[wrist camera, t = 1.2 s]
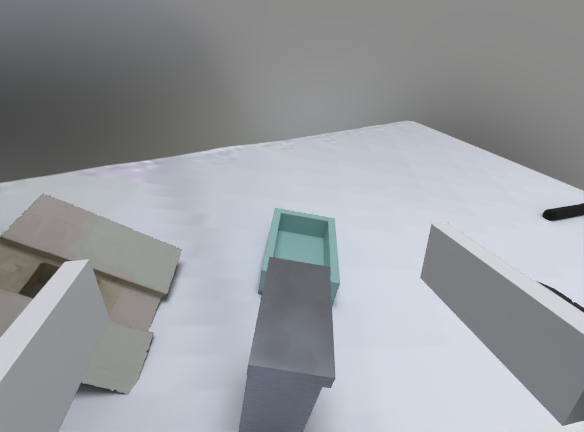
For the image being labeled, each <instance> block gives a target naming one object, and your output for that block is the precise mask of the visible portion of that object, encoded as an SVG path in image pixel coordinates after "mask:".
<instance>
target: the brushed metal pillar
mask: <svg viewBox="0 0 584 432" xmlns="http://www.w3.org/2000/svg"><path fill="white" fill-rule="evenodd" d="M334 380H335V362H334V341H333V321H332V300H331V279H330V267H328V266H322V265H316V264H310V263H304V262H298V261H292V260H287V259H281V258H275V257H269V261H268V266H267V271H266V276H265V281H264V287H263V292H262V297H261V302H260V307H259V312H258V317H257V323H256V328H255V333H254V338H253V343H252V348H251V353H250V359H249V364H248V370H247V382H246V388H245V395H244V401H243V408H242V414H241V421H240V427H239V432H303V430H304V428H305V425H306V423H307V421H308V418H309V416H310V414H311V412H312V409H313V407H314V405H315V402H316V400H317V398H318V396H319V393H320V391H321V389H322V387H327V388H331V386H332V384H333V382H334Z"/></svg>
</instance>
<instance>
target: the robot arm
mask: <svg viewBox="0 0 584 432" xmlns="http://www.w3.org/2000/svg"><path fill="white" fill-rule="evenodd" d="M420 278H421V279H422V280H423V281H424V282H425V283H426V284H427V285H428V286H429V287H430V288H431V289H432V290H433V291H434V292H435V293H436V295H437V296H438V297H439V298H440V299H441V300H442V301H443V302H444V303H445V304H446V305H447V306H448V307H449V308H450V309H451V310H452V311H453V312H454V313H455V314H456V315H457V316H458V317H459V318H460V320H461V321H462V322H463V323H464V324H465V325H466V326H467V327H468V328H469V329H470V330H471V331H472V332H473V333H474V334H475V335H476V336H477V337H478V338H479V339H480V340H481V341H482V342H483V344H484V345H485V346H486V347H487V348H488V349H489V350H490V351H491V352H492V353H493V354H494V355H495V356H496V357H497V358H498V359H499V360H500V361H501V362H502V363H503V364H504V365H505V366H506V367H507V369H508V370H509V371H510V372H511V373H512V374H513V375H514V376H515V377H516V378H517V379H518V380H519V381H520V382H521V383H522V384H523V385H524V386H525V387H526V388H527V389H528V390H529V391H530V392H531V394H532V395H533V396H534V397H535V398H536V399H537V400H538V401H539V402H540V403H541V404H542V405H543V406H544V407H545V408H546V409H547V410H548V411H549V412H550V413H551V414H552V415H553V416H554V418H555V419H556V420H557V421H558V422H559V423H560V424H561V425H562V426H564V425H568V424H572V423H576V422H580V421H584V308H583V307H581V306H580V305H578V304H577V303H575V302H574V303H573V302H572V300H571V299H569V298H568V297H566V296H565V295H563V294H562V293H560V292H559V291H557V290H555V289H553V288H551V287H549V286H547V285H544V284H542V283H540V282H538V281H535V280H534V279H532V278H531V277H529V276H528V275H526V274H525V273H523V272H522V271H520V270H519V269H517V268H516V267H514V266H513V265H511V264H510V263H508V262H507V261H505V260H504V259H502V258H501V257H499V256H498V255H496V254H495V253H493V252H492V251H490V250H489V249H487V248H486V247H484V246H483V245H481V244H480V243H478V242H477V241H475V240H474V239H472V238H471V237H469V236H468V235H466V234H465V233H463V232H462V231H460V230H459V229H457V228H456V227H454V226H453V225H451V224H450V223H448V222H446V223H436V224H431V229H430V234H429V239H428V244H427V248H426V253H425V258H424V263H423V268H422V272H421V277H420ZM109 321H110V318H109V315H108V312H107V309H106V306H105V303H104V300H103V297H102V295H101V292H100V289H99V286H98V283H97V280H96V277H95V274H94V271H93V268H92V265H91V262H90V259H86V260H77V261H67V262H64V263H63V265H62V266H61V267H60V268H59V269H58V270H57V272H56V273H55V274H54V275H53V276H52V278H51V279H50V280H49V281H48V282H47V283H46V285H45V286H44V287H43V288H42V289H41V290H40V292H39V293H38V294H37V295H36V296H35V298H34V299H33V300H32V301H31V302H30V303H29V305H28V306H27V307H26V308H25V309H24V310H23V312H22V313H21V314H20V315H19V316H18V318H17V319H16V320H15V321H14V322H13V323H12V325H11V326H10V327H9V328H8V329H7V330H6V332H5V333H4V334H3V335H2V336H1V338H0V432H58V431H59V429H60V427H61V425H62V422H63V420H64V418H65V416H66V414H67V412H68V409H69V407H70V405H71V403H72V401H73V399H74V397H75V394H76V392H77V390H78V388H79V386H80V384H81V381H82V379H83V377H84V375H85V373H86V371H87V369H88V366H89V364H90V362H91V360H92V358H93V356H94V354H95V351H96V349H97V347H98V345H99V343H100V341H101V338H102V336H103V334H104V332H105V330H106V328H107V326H108V323H109Z"/></svg>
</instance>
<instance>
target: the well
mask: <svg viewBox="0 0 584 432" xmlns="http://www.w3.org/2000/svg"><path fill="white" fill-rule="evenodd" d="M269 257H275V258H281V259H287V260H292V261H298V262H304V263H310V264H316V265H322V266H328V267H330V279H331V300H332V304H333V301H334V298H335V296H336V293H337V290H338V287H339V285H340V278H339V265H338V253H337V241H336V229H335V218H329V217H324V216H318V215H312V214H306V213H301V212H295V211H289V210H284V209H278V208H275V210H274V215H273V219H272V224H271V229H270V233H269V238H268V243H267V247H266V252H265V257H264V261H263V266H262V271H261V277H260V284H259V291H258V294H262V292H263V287H264V281H265V276H266V271H267V266H268V261H269Z"/></svg>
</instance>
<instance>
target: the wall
mask: <svg viewBox="0 0 584 432" xmlns="http://www.w3.org/2000/svg"><path fill="white" fill-rule="evenodd" d="M21 215H22V216H20V217H19V218H17V219H16V220H15V222H13V224H12V225H11V226H10V228H9V230H7V231H5V232H3V234H2V235H1V237H0V338H1V336H2V335H3V334H4V333H5V332H6V330H7V329H8V328H9V327H10V326H11V325H12V323H13V322H14V321H15V320H16V319H17V318H18V316H19V315H20V314H21V313H22V312H23V310H24V309H25V308H26V307H27V306H28V305H29V303H30V302H31V301H32V300H33V299H34V298H35V296H36V295H37V294H38V293H39V292H40V290H41V289H42V288H43V287H44V286H45V285H46V283H47V282H48V281H49V280H50V279H51V278H52V276H53V275H54V274H55V273H56V272H57V270H58V269H59V268H60V267H61V266H62V265H63V263H64V262H67V261H77V260H86V259H90V262H91V265H92V268H93V271H94V274H95V277H96V280H97V283H98V286H99V289H100V292H101V295H102V297H103V300H104V303H105V306H106V309H107V312H108V315H109V318H110V321H109V323H108V326H107V328H106V330H105V332H104V334H103V336H102V338H101V341H100V343H99V345H98V347H97V349H96V351H95V354H94V356H93V358H92V360H91V362H90V364H89V366H88V369H87V371H86V373H85V375H84V377H83V379H82V381H81V383H83V384H85V383H87V384H89V385H90V384H91V385H94V386H96V387H101V388H106V389H110V390H111V391H114V390H117V391H118V392H121V393H125V394H129V393H130V391H131V389H132V388H133V386H134V385H135V384H136V383H137V381H138V380H139V377H140V372H141V371H142V368H143V364H144V359H146V357H147V354H148V353H147V352H146V351H147V350H148V349H149V346H150V342H151V339H152V336H153V334H154V333H153V332H149V331H147V330H148V329H149V328H150V327H151V323H152V322H153V321H152V320H153V317H154V315H155V313H156V309H157V308H158V307H157V306H158V304H159V302H160V300H161V298H162V297H163V296H165V295H167V293H168V290H169V287H170V284H171V281H172V278H173V275H174V271H175V270H174V269H176V265H177V263H178V260H179V257H180V254H181V251H182V250H181V249H179V248H178V247H177V248H176V246H175V247H174V246H173V245H171V244H167V243H165V242H162V241H159V240H157V239H154V238H153V237H150V236H147V235H145V234H142V233H140V232H138V231H134V230H132V229H131V228H128V227H126V226H123V225H120V224H118V223H117V222H116V223H115V222H113V221H111V220H109V219H106V218H104V217H101V216H97V215H96V214H94V213H92V212H89V211H86V210H83V209H81V208H79V207H75V206H73V205H72V204H69V203H67V202H65V201H63V202H62V201H61V200H58V199H55V198H52V197H51V196H48V195H44V193H43V195H41V196H40V197H39V198H38V199H37V200H36V201H35V202H33V204H32V205H31V206H30V207H29V208H28V210H26V211H24V213H23V214H21Z"/></svg>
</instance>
